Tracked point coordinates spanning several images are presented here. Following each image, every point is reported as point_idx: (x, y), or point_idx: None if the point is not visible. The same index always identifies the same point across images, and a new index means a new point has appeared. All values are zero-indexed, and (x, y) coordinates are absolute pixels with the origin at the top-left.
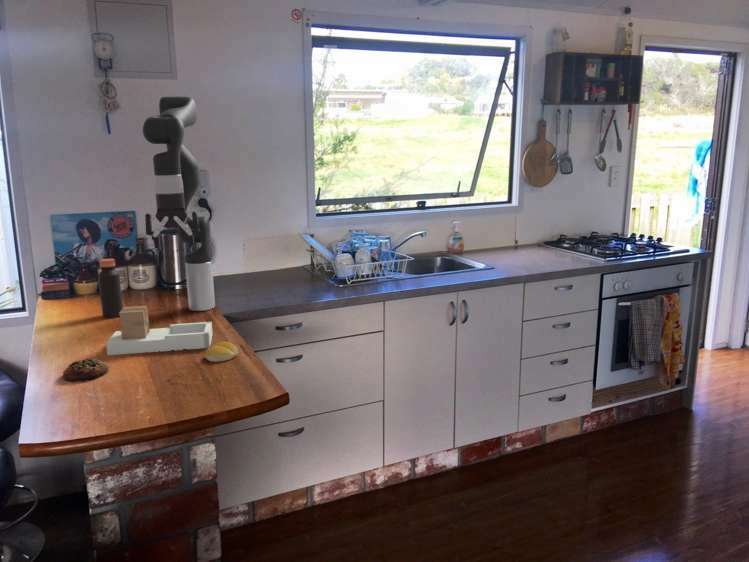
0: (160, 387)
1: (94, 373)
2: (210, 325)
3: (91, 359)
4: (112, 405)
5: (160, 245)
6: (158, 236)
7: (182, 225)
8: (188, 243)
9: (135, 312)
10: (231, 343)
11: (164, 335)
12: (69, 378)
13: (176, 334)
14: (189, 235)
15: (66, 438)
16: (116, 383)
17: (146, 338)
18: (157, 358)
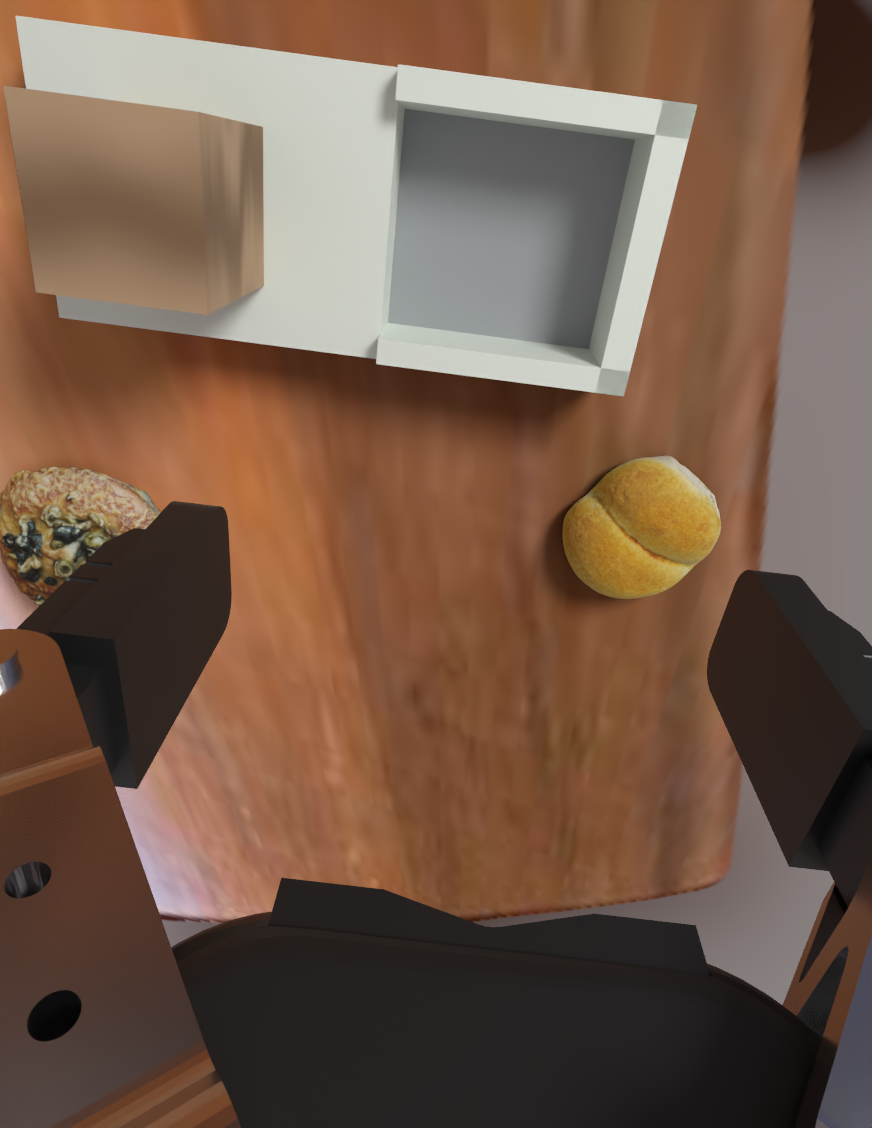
0: (390, 737)
1: None
2: (668, 217)
3: (78, 533)
4: (268, 804)
5: (202, 538)
6: (105, 714)
7: (857, 976)
8: (735, 738)
9: (154, 305)
10: (706, 530)
11: (369, 271)
12: None
13: (442, 354)
14: (843, 849)
15: (208, 913)
16: (237, 662)
17: (269, 297)
18: (353, 445)
